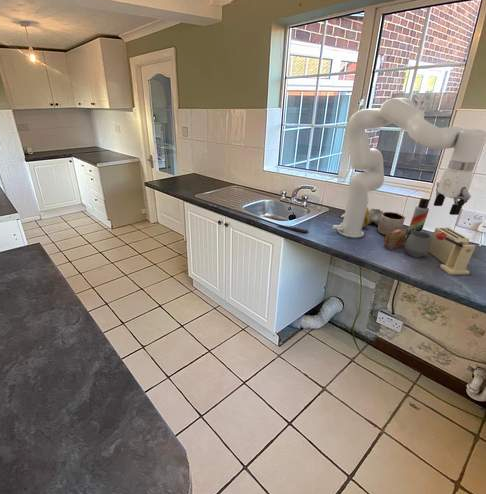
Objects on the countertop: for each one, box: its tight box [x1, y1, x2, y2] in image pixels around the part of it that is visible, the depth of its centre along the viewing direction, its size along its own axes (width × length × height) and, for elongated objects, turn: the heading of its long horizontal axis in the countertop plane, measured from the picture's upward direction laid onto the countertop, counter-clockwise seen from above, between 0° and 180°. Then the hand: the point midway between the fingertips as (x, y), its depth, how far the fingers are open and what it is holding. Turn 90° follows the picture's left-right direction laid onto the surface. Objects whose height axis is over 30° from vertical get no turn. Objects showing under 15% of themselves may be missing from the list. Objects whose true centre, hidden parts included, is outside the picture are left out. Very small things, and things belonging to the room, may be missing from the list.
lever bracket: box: [439, 240, 477, 275], centre depth 124 cm, size 8×6×13 cm
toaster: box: [427, 227, 470, 265], centre depth 134 cm, size 6×12×12 cm, turn 1°
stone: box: [362, 206, 370, 228], centre depth 165 cm, size 13×10×10 cm
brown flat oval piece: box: [383, 228, 409, 251], centre depth 145 cm, size 15×3×8 cm, turn 117°
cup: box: [404, 231, 432, 258], centre depth 137 cm, size 10×9×10 cm
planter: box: [377, 211, 406, 236], centre depth 159 cm, size 11×11×10 cm
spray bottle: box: [407, 197, 431, 237], centre depth 153 cm, size 6×6×20 cm
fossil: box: [368, 208, 384, 226], centre depth 174 cm, size 18×11×15 cm
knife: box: [279, 225, 308, 234], centre depth 165 cm, size 17×1×3 cm
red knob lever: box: [436, 232, 466, 249], centre depth 121 cm, size 15×3×3 cm, turn 92°
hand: (445, 209), depth 119 cm, fingers open, 9 cm apart
